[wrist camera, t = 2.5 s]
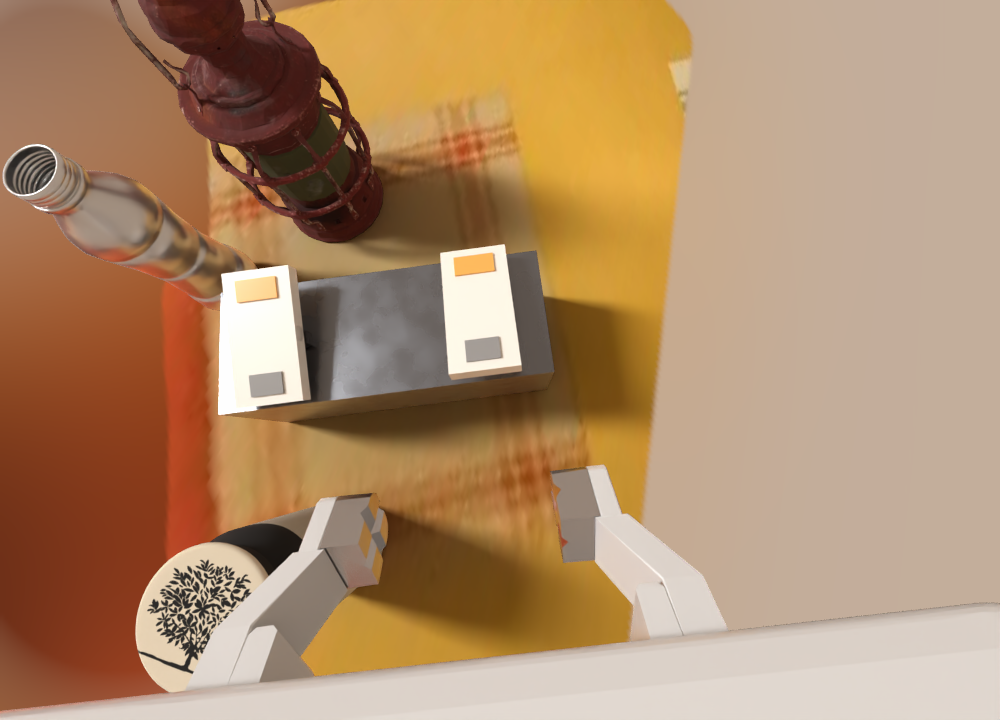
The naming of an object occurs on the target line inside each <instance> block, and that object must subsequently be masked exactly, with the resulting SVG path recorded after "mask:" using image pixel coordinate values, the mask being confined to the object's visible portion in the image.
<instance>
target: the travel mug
mask: <svg viewBox="0 0 1000 720" xmlns="http://www.w3.org/2000/svg"><path fill="white" fill-rule="evenodd" d="M315 507H316V506H315ZM315 507H311V508H308V509H304V510H301V511H297V512H294V513H290V514H287V515H283V516H280V517H276V518H273V519H269V520H266V521H262V522H259V523H256V524H252V525H249V526H245V527H242V528H238V529H235V530H232V531H228V532H226V533H224V534H222V535H220V536H218V537H216V538H215V539H213V540H212V541H211V542H209V543H203V544H199V545H195V546H193V547H190V548H188V549H186V550H184V551H182V552H180V553H178V554H177V555H175V556H174V557H172V558H171V559H170V560H169V561H168V562H166V563H165V564H164V565H163V566H162V567H161V568H160V569H159V571H158V572H157V573H156V574H155V576H154V577H153V578H152V580H151V581H150V583H149V585H148V587H147V588H146V590H145V592H144V595H143V597H142V600H141V602H140V606H139V609H138V614H137V620H136V642H137V648H138V652H139V656H140V658H141V661H142V663H143V665H144V667H145V669H146V670H147V672H148V674H149V675H150V676H151V678H152V679H153V680H154V681H155V682H156V683H157V684H158V685H160V686H161V687H162V688H163V689H165V690H167V691H168V692H170V693H171V692H180V691H185V689H186V687H187V685H188V683H189V681H190V679H191V676H192V674H193V672H194V670H195V668H196V666H197V664H198V662H199V660H200V658H201V656H202V654H203V652H204V649H205V647H206V645H207V643H208V641H209V639H210V637H211V635H212V633H213V631H214V630H215V629H216V628H217V627H218V626H219V625H220V624H221V623H222V622H223V621H224V620H225V619H226V618H227V617H228V616H229V615H230V614H231V613H232V612H233V611H234V610H235V609H236V608H237V607H238V606H239V605H240V604H241V603H242V602H243V601H244V600H245V599H246V598H247V597H248V596H249V595H250V594H251V593H252V592H253V591H254V590H255V589H256V588H257V587H258V586H259V585H260V584H262V583H263V582H264V581H265V580H266V579H267V578H268V577H269V576H270V575H271V574H272V573H273V572H274V571H275V570H276V569H277V568H278V567H279V566H280V565H281V564H282V563H283V562H284V561H285V560H286V559H287V558H288V557H289V556H290V555H291V554H292V553H295V552H298V551H299V549H300V546H301V544H302V541H303V538H304V536H305V533H306V530H307V528H308V525H309V523H310V520H311V517H312V515H313V512H314V509H315ZM382 552H383V550H382V551H381V552H380V555H381V556H382ZM356 588H358V587H354V588H347V589H348V591H347V592H346V594H345V595H344V596H343V598H342V599H341V601H342V600H344V599H345V598H346V597H347V596H348V595H349V594H351V593H352V592H353V591H354V590H355V589H356ZM341 601H340V602H341ZM340 602H339V603H340ZM339 603H338V604H339Z"/></svg>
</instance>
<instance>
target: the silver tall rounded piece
mask: <svg viewBox="0 0 1000 720" xmlns="http://www.w3.org/2000/svg"><path fill="white" fill-rule="evenodd" d="M3 182H4V185H5V187H6V189H7V190H8V191H9V192H11V193H12V194H13V195H15V196H16V197H19V198H21V199H23V200H24V201H26V202H28V203H31V205H32V206H34V207H35V208H37V209H39V210H41V211H43V212H45V213H48V214H53V216H54V218H55V220H56V222H57V224H58V225H59V227H60V228H61V230H62V231H63V233H64V235H65V236H66V237H67V238H68V240H69V241H70V242H72V243H73V244H74V245H75V246H76V247H78V248H79V249H80V250H82V251H83V252H85V253H86V254H88V255H91V256H94V257H96V258H99V259H102V260H104V261H108V262H111V263H115V264H118V265H122V266H125V267H128V268H132V269H135V270H139V271H141V272H144V273H147V274H149V275H152V276H154V277H157V278H159V279H162V280H164V281H166V282H168V283H170V284H172V285H173V286H175V287H177V288H179V289H180V290H182V291H184V292H186V293H187V294H188V295H190V296H191V297H192V298H193V299H195V300H196V301H198V302H199V303H201V304H202V305H204V306H206V307H207V308H210V309H213V310H218V311H220V306H221V293H223V285H222V275H221V274H225V273H232V272H240V271H247V270H254V269H258V268H257V267H256V265H255V264H254V263H253V262H252V261H251V260H250V259H249V258H248V257H247V256H246V255H245V254H244V253H242V252H241V251H239V250H237V249H235V248H233V247H230V246H228V245H225V244H222V243H220V242H218V241H216V240H214V239H212V238H210V237H209V236H207V235H205V234H203V233H201V232H199V231H198V230H197V229H195V228H194V227H192V226H191V225H190V224H189V223H187V222H186V221H185V220H183V219H182V218H181V217H179V216H178V215H176V214H175V213H174V212H173V211H172V210H171V209H170V208H169V207H168V206H166V205H165V204H164V203H163V202H162V201H161V200H160V199H159V198H158V197H156V196H155V195H154V194H153V193H152V192H151V191H150V190H149V189H147V188H146V187H145V186H144V185H142V184H141V183H139V182H138V181H136V180H134V179H131V178H128V177H125V176H123V175H120V174H117V173H109V172H101V171H86V170H85V169H84V168H83V167H82V166H81V165H79V164H78V163H76V162H75V161H73V160H72V159H69V158H67V157H64V156H63V155H61V154H60V153H58V152H57V151H55V150H54V149H52V148H50V147H48V146H46V145H42V144H31V145H27V146H25V147H23V148H21V149H19V150H18V151H17V152H15V153H14V154H13V155H12V156H11V157H10V158H9V159H8V161H7V163H6V165H5V167H4V170H3Z"/></svg>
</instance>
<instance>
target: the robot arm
mask: <svg viewBox="0 0 1000 720" xmlns="http://www.w3.org/2000/svg"><path fill="white" fill-rule="evenodd" d="M550 478H551V485H552V501H553V510H554V515H555V521H556V526H557V527H558V534H559V543H560V548H561V553H562V558H563V563H566V562H577V561H589V560H595V562H596V563H597V564H598V566H599V567H600V568H601V569H602V570H603V571H604V573H605V574H606V575H607V576H608V577H609V578H610V579H611V581H612V582H613V583H614V584H615V585H616V586H617V587H618V589H619V590H620V591H621V592H622V593H623V594H624V595H625V597H626V598H627V599H628V600H629V601H630V602H631V603H632V605H633V606H634V610H633V618H632V627H631V636H630V641H631V642H623V643H614V644H605V645H595V646H586V647H577V648H568V649H559V650H550V651H541V652H532V653H523V654H513V655H504V656H495V657H486V658H477V659H468V660H459V661H450V662H441V663H432V664H423V665H414V666H405V667H396V668H387V669H378V670H369V671H360V672H351V673H342V674H333V675H324V676H315V677H314V674H313V672H312V670H311V669H310V668H309V666H308V665H307V664H306V663H305V662H304V661H303V659H302V658H301V657H300V656H301V655H302V654H303V652H304V651H305V649H306V648H307V647H308V645H309V644H310V642H311V641H312V640H313V638H314V637H315V635H316V634H317V633H318V631H319V630H320V629H321V627H322V626H323V624H324V623H325V622H326V620H327V619H328V617H329V616H330V615H331V613H332V612H333V610H334V609H335V608H336V606H337V605H338V603H339V602H340V601H341V599H342V598H343V596H344V595H345V594H346V592H347V591H348V589H347V588H354V587H361V586H368V585H375V584H379V579H380V574H381V569H382V564H383V559H382V557H381V555H380V552H381V551H382V550H383V548H384V547H385V546H386V543H387V537H388V523H387V517H386V515H385V512H384V511H383V510H381V509H380V508H378V507H379V502H380V500H379V498H378V496H377V494H376V493H369V494H358V495H348V496H339V497H329V498H321V499H320V500H319V501H318V503H317V504H316V507H315V509H314V512H313V515H312V517H311V520H310V523H309V525H308V528H307V530H306V533H305V536H304V538H303V541H302V544H301V546H300V549H299V551H298V552H295V553H292V554H291V555H290V556H289V557H288V558H287V559H286V560H285V561H284V562H283V563H282V564H281V565H280V566H279V567H278V568H277V569H276V570H275V571H274V572H273V573H272V574H271V575H270V576H269V577H268V578H267V579H266V580H265V581H264V582H263V583H262V584H260V585H259V586H258V587H257V588H256V589H255V590H254V591H253V592H252V593H251V594H250V595H249V596H248V597H247V598H246V599H245V600H244V601H243V602H242V603H241V604H240V605H239V606H238V607H237V608H236V609H235V610H234V611H233V612H232V613H231V614H230V615H229V616H228V617H227V618H226V619H225V620H224V621H223V622H222V623H221V624H220V625H219V626H218V627H217V628H216V629H215V630H214V631H213V633H212V635H211V637H210V639H209V641H208V643H207V645H206V647H205V649H204V652H203V654H202V656H201V658H200V660H199V662H198V664H197V666H196V668H195V670H194V672H193V674H192V676H191V679H190V681H189V683H188V685H187V687H186V689H185V691H180V692H171V693H162V694H153V695H144V696H135V697H126V698H117V699H108V700H99V701H90V702H80V703H71V704H63V705H53V706H44V707H35V708H26V709H17V710H7V711H0V720H1000V603H973V604H964V605H955V606H947V607H938V608H930V609H920V610H911V611H902V612H893V613H883V614H875V615H865V616H856V617H847V618H838V619H830V620H821V621H812V622H802V623H794V624H786V625H775V626H766V627H758V628H748V629H740V630H730V631H729V630H728V628H727V626H726V624H725V622H724V620H723V618H722V616H721V613H720V611H719V609H718V607H717V605H716V603H715V601H714V598H713V596H712V594H711V592H710V590H709V588H708V585H707V583H706V581H705V579H704V577H703V575H702V574H701V573H699V572H698V571H697V570H696V569H695V568H693V567H692V566H691V565H690V564H689V563H687V562H686V561H685V560H684V559H682V558H681V557H680V556H679V555H678V554H676V553H675V552H674V551H673V550H672V549H670V548H669V547H668V546H667V545H665V544H664V543H663V542H662V541H661V540H659V539H658V538H657V537H656V536H655V535H653V534H652V533H651V532H650V531H649V530H647V529H646V528H645V527H644V526H642V525H641V524H640V523H639V522H638V521H636V520H635V519H634V518H633V517H632V516H630V515H629V514H622V511H621V509H620V506H619V503H618V500H617V497H616V494H615V491H614V488H613V486H612V483H611V480H610V477H609V474H608V471H607V468H606V467H605V466H604V465H597V466H589V467H579V468H571V469H564V470H556V471H550Z"/></svg>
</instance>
